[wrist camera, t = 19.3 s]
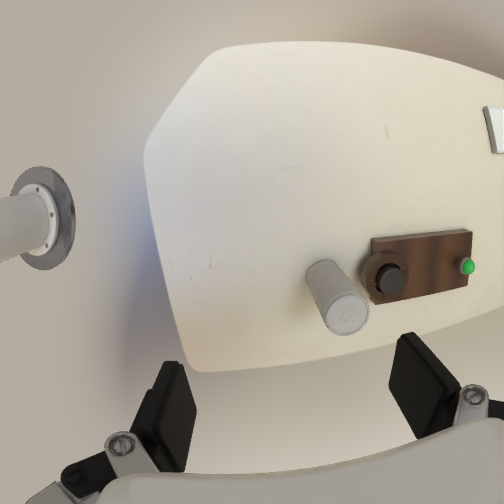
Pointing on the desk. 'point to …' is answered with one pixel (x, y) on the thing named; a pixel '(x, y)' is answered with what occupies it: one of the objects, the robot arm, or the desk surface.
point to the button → (389, 279)
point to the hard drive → (495, 127)
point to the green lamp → (466, 266)
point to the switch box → (419, 263)
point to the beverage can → (337, 298)
